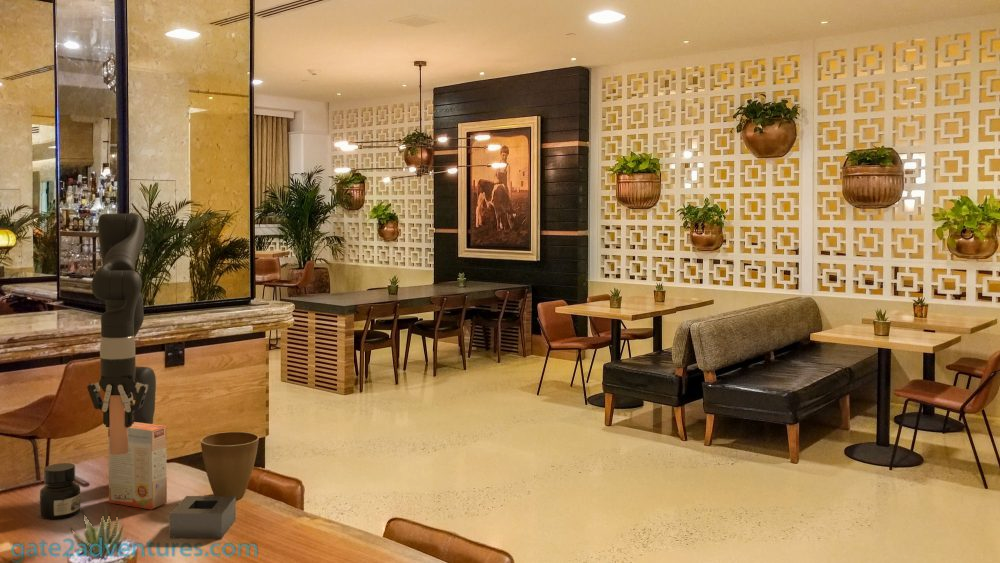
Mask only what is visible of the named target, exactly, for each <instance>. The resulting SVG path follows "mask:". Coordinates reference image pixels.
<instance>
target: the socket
mask: <svg viewBox="0 0 1000 563" xmlns="http://www.w3.org/2000/svg"><path fill="white" fill-rule="evenodd" d="M236 504H237V503H236V496H214V495H186V496H184V498H183V499H182V500H181V501H179V503H178V504H177V505H176V506H175V507H174V508H173V509H172V510H171V512H169V539H187V540H189V539H193V540H194V539H197V540H198V539H200V540H201V539H202V540H205V539H207V540H209V539H211V540H212V539H213V540H215V539H216V540H219V539H223V538H224V537H225V535H226V534H227V532H228V531H229V529H231V527H232V526H233V525H234V523H235V521H236V516H237V515H236V514H237V512H236V511H237V510H236V509H237V508H236V506H237V505H236Z"/></svg>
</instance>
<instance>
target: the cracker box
mask: <svg viewBox="0 0 1000 563" xmlns="http://www.w3.org/2000/svg"><path fill="white" fill-rule="evenodd" d="M107 430H108V431H107V432H108V433H107V434H108V435H107V439H108V440H107V442H108V444H107V445H108V446H107V448H108V449H107V450H108V452H107V453H108V503H110V504H114V505H121V506H122V505H123V506H128V507H134V508H140V509H146V510H154V509H156V508H158V507H160V506H163V505H165V504H167V499H168V498H167V496H168V494H167V488H168V486H167V479H168V478H167V474H168V473H167V426H166V425H162V424H154V423H153V424H147V423H139V422H134V424H132V426H131V427H129V428H128V452H127V453H125V454H120V455H113V454H110V431H109V427H107Z"/></svg>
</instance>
